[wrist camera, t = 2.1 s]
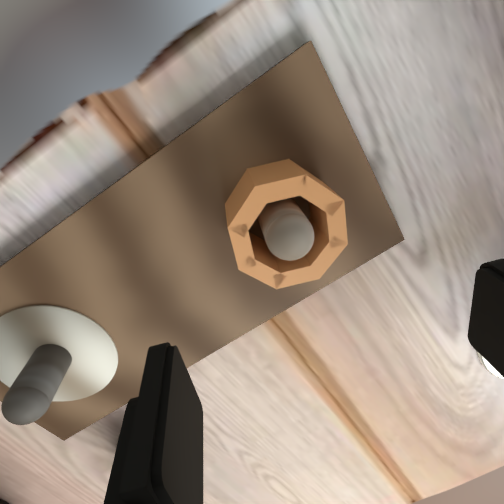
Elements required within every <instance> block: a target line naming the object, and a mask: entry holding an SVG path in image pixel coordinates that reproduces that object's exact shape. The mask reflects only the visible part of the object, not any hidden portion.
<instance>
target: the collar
mask: <svg viewBox="0 0 504 504" xmlns="http://www.w3.org/2000/svg"><path fill="white" fill-rule="evenodd" d="M296 196H302V197H303V198H305V199H306V200H308V203H309V210H310V217H309V219H308V220H309V222H310V223H311V225H312V227H313V230H314V243H313V246H312V248H311V249H310V251H309V252H308V253H307V254H306V255H305V256H304V257H302V258H300V259H297V260H293V261H287V260H282V259H280V258H278V257H276V256H275V255H274V254H272V253H271V251H270V250H269V248H268V246H267V244H266V241H264V240H263V239H261V238H259V237H257V236H256V235H254V234H252V233H250V232H248V230H249V229H250V227H251V226H252V224H253V223H254V221H255V220H256V219H257V217H258V216H259V214H260V213H261V211H262V210H263V208H264V207H265V205H266V204H267V203H271V202H275V201H279V200H283V199H288V198H292V197H296ZM225 211H226V219H227V228H228V231H229V235H230V239H231V243H232V246H233V250H234V254H235V258H236V262H237V266H238V270H240V271H242V272H244V273H246V274H248V275H249V276H251V277H253V278H255V279H257V280H259V281H261V282H263V283H265V284H267V285H269V286H271V287H273V288H275V289H280V288H284V287H288V286H292V285H296V284H301V283H305V282H309V281H313V280H318V279H320V278H321V277H322V275H323V274H324V273H325V272H326V271H327V269H328V268H329V267H330V266H331V264H332V263H333V262H334V261H335V259H336V258H337V257H338V256H339V254H340V253H341V252H342V251H343V250H344V248H345V247H346V246H347V245H348V239H347V227H346V215H345V203H344V200H343V199H342V198H341V197H340V196H339V195H338V194H336V193H335V192H334V191H333V190H332V189H331V188H329V187H328V186H327V185H326V184H325V183H324V182H322V181H321V180H319V179H318V178H316V177H315V176H314V175H312V174H311V173H309V172H308V171H306V170H305V169H303V168H302V167H300V166H299V165H297V164H296V163H294V162H293V161H291V160H290V159H286V160H281V161H277V162H273V163H269V164H264V165H260V166H256V167H252V168H247V170H246V171H245V173H244V174H243V176H242V177H241V179H240V181H239V182H238V184H237V185H236V187H235V189H234V190H233V192H232V193H231V195H230V196H229V198H228V200H227V201H226V203H225Z"/></svg>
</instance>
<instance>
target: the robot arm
mask: <svg viewBox="0 0 504 504" xmlns="http://www.w3.org/2000/svg"><path fill="white" fill-rule="evenodd" d="M468 339H469V342H470V344H471V345H472V346H473V348H474V349H475V350H476V351H477V355H478V358H479V361H480V362H481V364H482V365H483V366H484V367H485V368H486V369H487V370H488V371H489V372H490V373H491V374H492V375H494V376H496V377H498V378H501V379H504V259H499V260H495V261H491V262H487V263H484V264H482V265H481V266H480V269H479V270H477V272H476V276H475V284H474V291H473V299H472V307H471V314H470V322H469V330H468ZM104 504H203V410H202V405H201V402H200V400H199V397H198V395H197V392H196V390H195V388H194V385H193V383H192V380H191V378H190V376H189V373H188V371H187V368H186V366H185V364H184V361H183V359H182V356H181V354H180V352H179V349H178V347H177V346H176V345H175V346H171V345H170V343H169V342H166V343H162V344H158V345H154V346H150V347H149V348H148V352H147V357H146V362H145V367H144V372H143V376H142V381H141V386H140V391H139V396H138V397H135V398H131V399H130V400H129V401H128V404H127V407H126V411H125V415H124V419H123V423H122V428H121V432H120V436H119V440H118V445H117V449H116V453H115V457H114V462H113V466H112V470H111V474H110V479H109V483H108V487H107V492H106V496H105V500H104Z"/></svg>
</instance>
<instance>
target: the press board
mask: <svg viewBox="0 0 504 504" xmlns="http://www.w3.org/2000/svg"><path fill="white" fill-rule="evenodd" d="M286 159H290V160H291V161H293V162H294V163H296V164H297V165H299V166H300V167H302V168H303V169H305V170H306V171H308V172H309V173H311V174H312V175H314V176H315V177H316V178H318V179H319V180H321V181H322V182H324V183H325V184H326V185H327V186H328V187H329V188H331V189H332V190H333V191H334V192H335V193H336V194H338V195H339V196H340V197H341V198H342V199H343V200H344V203H345V215H346V227H347V239H348V245H347V246H346V247H345V248H344V250H343V251H342V252H341V253H340V254H339V256H338V257H337V258H336V259H335V261H334V262H333V263H332V264H331V266H330V267H329V268H328V269H327V271H326V272H325V273H324V274H323V275H322V277H321V278H320V279H318V280H313V281H309V282H305V283H301V284H296V285H292V286H288V287H284V288H280V289H275V288H273V287H271V286H269V285H267V284H265V283H263V282H261V281H259V280H257V279H255V278H253V277H251V276H249V275H248V274H246V273H244V272H242V271H240V270H238V266H237V262H236V258H235V254H234V250H233V246H232V243H231V239H230V235H229V231H228V228H227V219H226V211H225V203H226V201H227V200H228V198H229V196H230V195H231V193H232V192H233V190H234V189H235V187H236V185H237V184H238V182H239V181H240V179H241V177H242V176H243V174H244V173H245V171H246V170H247V168H252V167H256V166H260V165H264V164H269V163H273V162H277V161H281V160H286ZM309 217H310V210H309V203H308V200H306V199H305V198H303V197H302V196H296V197H292V198H288V199H283V200H279V201H275V202H271V203H267V204H266V205H265V207H264V208H263V210H262V211H261V213H260V214H259V216H258V217H257V219H256V220H255V221H254V223H253V224H252V226H251V227H250V229H249V230H248V232H250V233H252V234H254V235H256V236H257V237H259V238H261V239H263V240H264V241H266V244H267V246H268V248H269V250H270V251H271V253H272V254H274V255H275V256H276V257H278V258H280V259H282V260H287V261H293V260H297V259H300V258H302V257H304V256H305V255H306V254H307V253H308V252H309V251H310V249H311V248H312V246H313V243H314V230H313V227H312V225H311V223H310V222H309V220H308V219H309ZM403 240H405V239H404V237H403V235H402V233H401V231H400V228H399V226H398V224H397V222H396V220H395V218H394V216H393V214H392V211H391V209H390V207H389V205H388V203H387V201H386V199H385V197H384V194H383V192H382V190H381V188H380V186H379V184H378V182H377V180H376V177H375V175H374V173H373V171H372V169H371V167H370V165H369V163H368V161H367V158H366V156H365V154H364V152H363V150H362V148H361V146H360V144H359V141H358V139H357V137H356V135H355V133H354V131H353V129H352V127H351V124H350V122H349V120H348V118H347V116H346V114H345V112H344V110H343V107H342V105H341V103H340V101H339V99H338V97H337V95H336V93H335V90H334V88H333V86H332V84H331V82H330V80H329V78H328V76H327V73H326V71H325V69H324V67H323V65H322V63H321V61H320V59H319V56H318V54H317V52H316V50H315V48H314V46H313V44H312V42H311V41H309V42H307V43H305V44H304V45H303V46H301V47H300V48H298V49H297V50H296V51H294V52H293V53H292V54H290V55H289V56H288V57H286V58H285V59H283V60H282V61H281V62H279V63H278V64H277V65H275V66H274V67H272V68H271V69H270V70H268V71H267V72H266V73H264V74H263V75H262V76H260V77H259V78H257V79H256V80H255V81H253V82H252V83H251V84H249V85H248V86H246V87H245V88H244V89H242V90H241V91H240V92H238V93H237V94H236V95H234V96H233V97H231V98H230V99H229V100H227V101H226V102H225V103H223V104H222V105H220V106H219V107H218V108H216V109H215V110H214V111H212V112H211V113H210V114H208V115H207V116H205V117H204V118H203V119H201V120H200V121H199V122H197V123H196V124H195V125H193V126H192V127H190V128H189V129H188V130H186V131H185V132H184V133H182V134H181V135H179V136H178V137H177V138H175V139H174V140H173V141H171V142H170V143H169V144H167V145H166V146H164V147H163V148H162V149H160V150H159V151H158V152H156V153H155V154H153V155H152V156H151V157H149V158H148V159H147V160H145V161H144V162H143V163H141V164H140V165H138V166H137V167H136V168H134V169H133V170H132V171H130V172H129V173H127V174H126V175H125V176H123V177H122V178H121V179H119V180H118V181H117V182H115V183H114V184H112V185H111V186H110V187H108V188H107V189H106V190H104V191H103V192H102V193H100V194H99V195H97V196H96V197H95V198H93V199H92V200H91V201H89V202H88V203H86V204H85V205H84V206H82V207H81V208H80V209H78V210H77V211H76V212H74V213H73V214H71V215H70V216H69V217H67V218H66V219H65V220H63V221H62V222H60V223H59V224H58V225H56V226H55V227H54V228H52V229H51V230H50V231H48V232H47V233H45V234H44V235H43V236H41V237H40V238H39V239H37V240H36V241H34V242H33V243H32V244H30V245H29V246H28V247H26V248H25V249H24V250H22V251H21V252H19V253H18V254H17V255H15V256H14V257H13V258H11V259H10V260H9V261H7V262H6V263H4V264H3V265H2V266H0V401H1V402H2V413H3V415H4V417H5V418H6V419H7V420H8V421H9V422H11V423H13V424H16V425H25V424H30V423H32V422H35V423H37V424H38V425H40V426H41V427H43V428H45V429H46V430H48V431H49V432H51V433H53V434H54V435H56V436H57V437H59V438H61V439H62V440H66V439H67V438H69V437H71V436H72V435H74V434H76V433H78V432H79V431H81V430H83V429H84V428H86V427H88V426H89V425H91V424H93V423H95V422H96V421H98V420H100V419H101V418H103V417H105V416H106V415H108V414H110V413H111V412H113V411H115V410H117V409H118V408H120V407H122V406H123V405H125V404H127V403H128V401H129V400H130V399H131V398H135V397H138V396H139V391H140V386H141V381H142V376H143V372H144V367H145V362H146V357H147V352H148V348H149V347H150V346H154V345H158V344H162V343H166V342H169V343H170V345H171V346H175V345H176V346H177V347H178V349H179V352H180V354H181V356H182V359H183V361H184V364H185V366H186V368H188V367H189V366H191V365H193V364H194V363H196V362H198V361H200V360H201V359H203V358H205V357H206V356H208V355H210V354H211V353H213V352H215V351H217V350H218V349H220V348H222V347H223V346H225V345H227V344H228V343H230V342H232V341H233V340H235V339H237V338H239V337H240V336H242V335H244V334H245V333H247V332H249V331H250V330H252V329H254V328H255V327H257V326H259V325H261V324H262V323H264V322H266V321H267V320H269V319H271V318H272V317H274V316H276V315H278V314H279V313H281V312H283V311H284V310H286V309H288V308H289V307H291V306H293V305H294V304H296V303H298V302H300V301H301V300H303V299H305V298H306V297H308V296H310V295H311V294H313V293H315V292H317V291H318V290H320V289H322V288H323V287H325V286H327V285H328V284H330V283H332V282H333V281H335V280H337V279H339V278H340V277H342V276H344V275H345V274H347V273H349V272H350V271H352V270H354V269H355V268H357V267H359V266H361V265H362V264H364V263H366V262H367V261H369V260H371V259H372V258H374V257H376V256H378V255H379V254H381V253H383V252H384V251H386V250H388V249H389V248H391V247H393V246H394V245H396V244H398V243H400V242H401V241H403Z"/></svg>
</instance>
